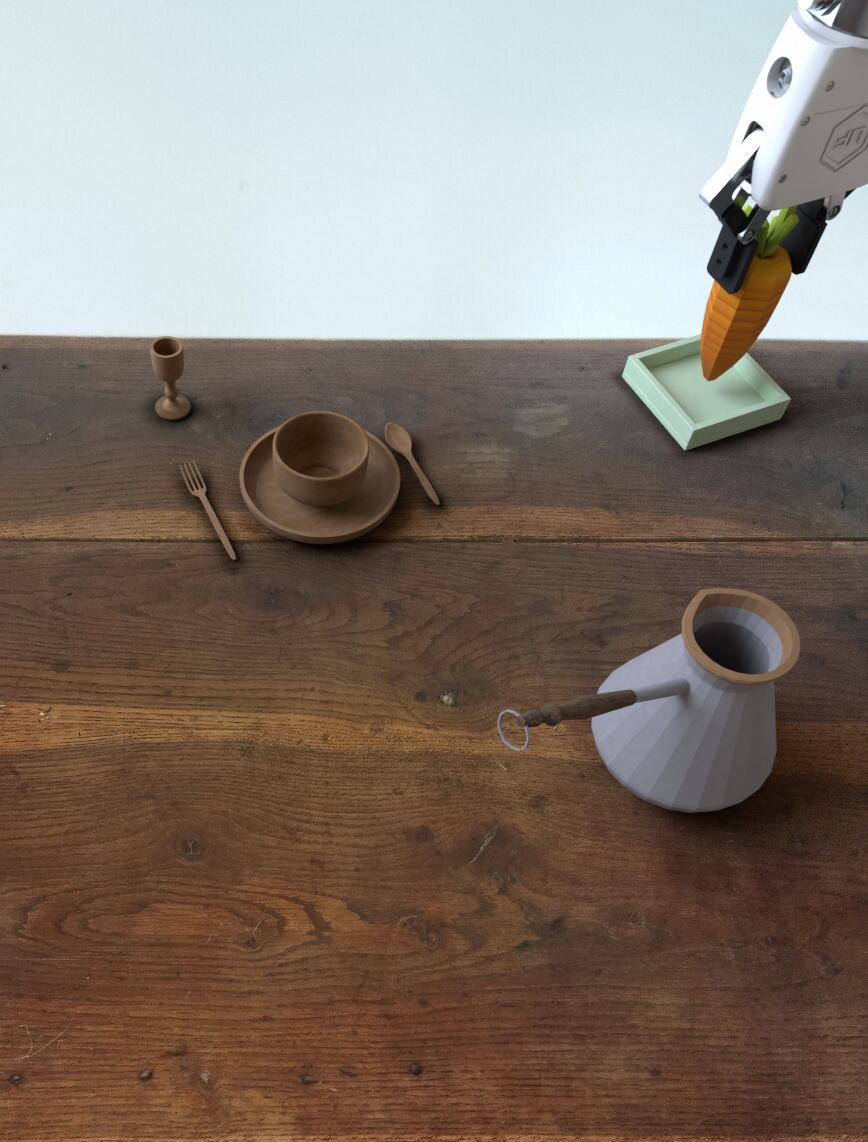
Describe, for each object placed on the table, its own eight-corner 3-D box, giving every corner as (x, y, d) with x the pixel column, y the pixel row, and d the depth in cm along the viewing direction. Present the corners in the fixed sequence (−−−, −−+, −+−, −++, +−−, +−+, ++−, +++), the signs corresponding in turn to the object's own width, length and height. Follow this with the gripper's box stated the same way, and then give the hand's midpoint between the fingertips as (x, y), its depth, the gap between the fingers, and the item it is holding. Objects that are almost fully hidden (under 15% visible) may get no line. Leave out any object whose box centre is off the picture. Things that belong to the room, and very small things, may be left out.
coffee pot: (684, 655, 74) (770, 501, 61) (795, 785, 69) (914, 648, 56) (418, 778, 68) (449, 638, 55) (517, 929, 63) (577, 814, 50)
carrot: (694, 406, 84) (769, 229, 71) (666, 365, 86) (734, 185, 73) (751, 395, 84) (835, 217, 72) (721, 354, 87) (798, 175, 74)
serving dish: (714, 347, 90) (723, 326, 88) (780, 419, 86) (791, 398, 84) (621, 376, 88) (628, 355, 86) (684, 451, 84) (693, 430, 82)
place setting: (237, 585, 76) (234, 528, 71) (143, 403, 85) (135, 341, 80) (456, 514, 80) (468, 455, 75) (343, 347, 89) (347, 285, 84)
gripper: (794, 51, 58) (684, 335, 73) (1035, -7, 61) (882, 275, 77) (713, -14, 61) (625, 270, 77) (947, -65, 65) (817, 216, 81)
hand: (755, 270), depth 77 cm, fingers closed on carrot, 4 cm apart
